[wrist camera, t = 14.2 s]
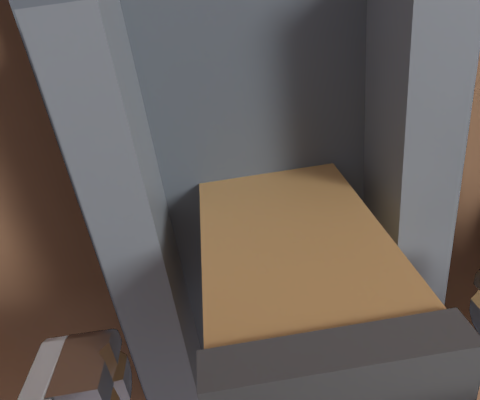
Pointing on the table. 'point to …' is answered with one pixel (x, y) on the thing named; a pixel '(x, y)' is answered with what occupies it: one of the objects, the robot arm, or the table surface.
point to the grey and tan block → (319, 299)
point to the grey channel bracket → (246, 131)
